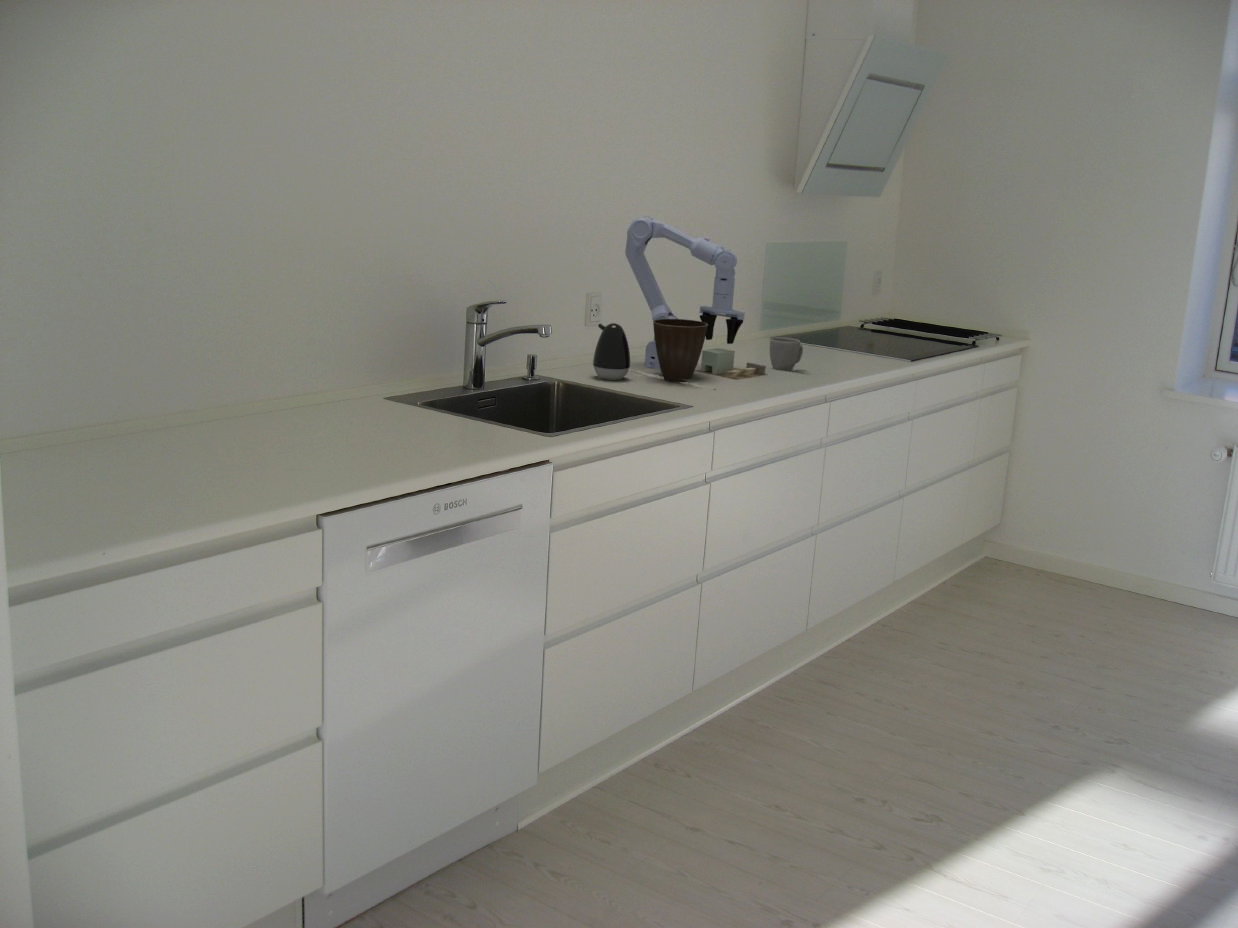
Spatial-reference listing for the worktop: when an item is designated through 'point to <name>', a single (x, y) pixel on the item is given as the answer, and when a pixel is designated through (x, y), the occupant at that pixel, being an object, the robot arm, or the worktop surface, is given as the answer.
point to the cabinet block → (717, 360)
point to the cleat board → (742, 372)
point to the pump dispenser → (612, 353)
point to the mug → (785, 353)
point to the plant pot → (678, 346)
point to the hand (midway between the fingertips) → (719, 341)
